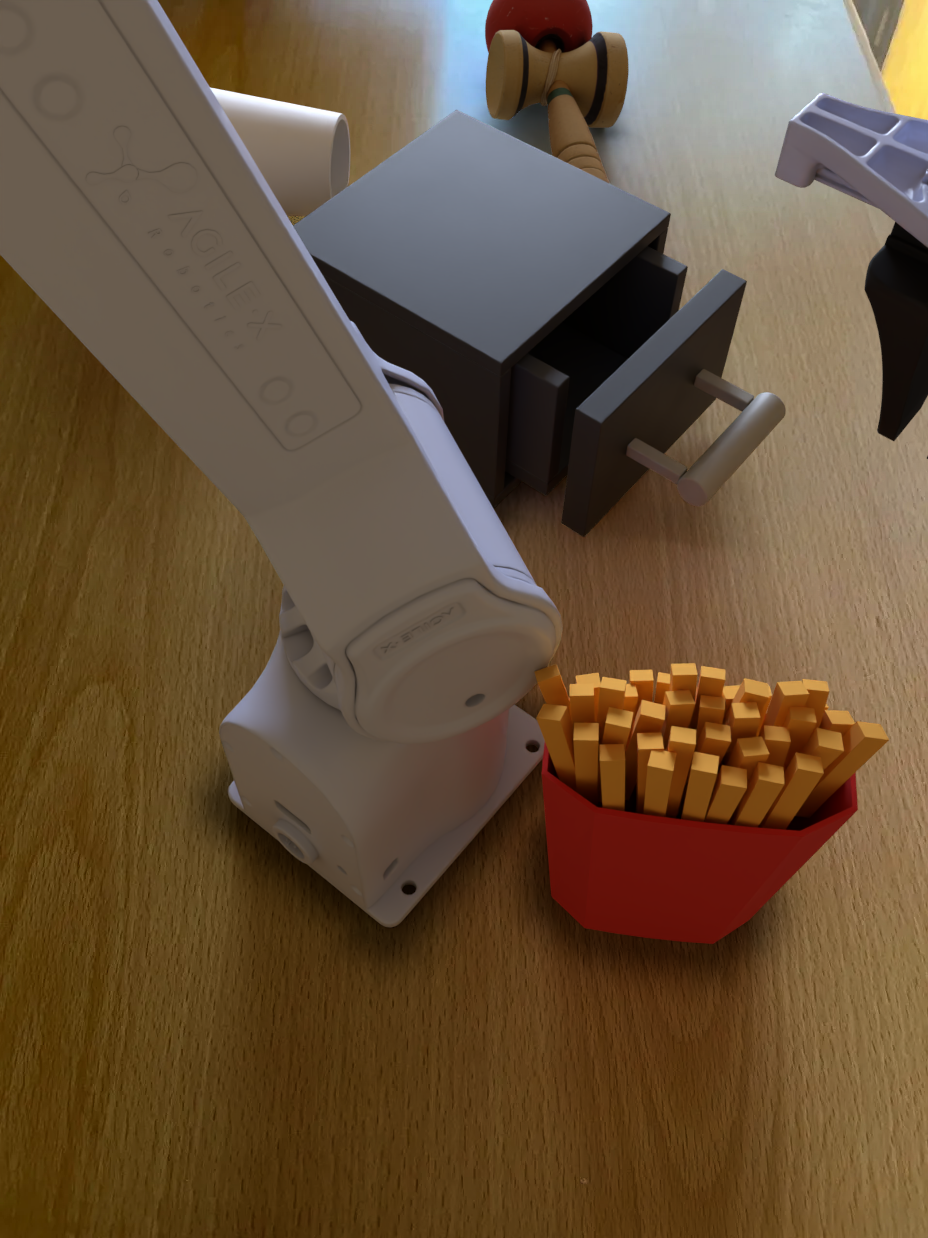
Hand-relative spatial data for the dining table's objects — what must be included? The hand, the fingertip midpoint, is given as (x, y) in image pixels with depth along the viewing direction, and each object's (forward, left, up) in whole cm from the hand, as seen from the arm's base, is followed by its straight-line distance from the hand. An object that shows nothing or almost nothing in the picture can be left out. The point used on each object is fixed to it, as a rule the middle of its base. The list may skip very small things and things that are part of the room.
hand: (923, 433), depth 40 cm
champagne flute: (-8, +52, -6) cm, 53 cm away
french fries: (-15, 0, -10) cm, 18 cm away
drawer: (0, +13, -9) cm, 15 cm away
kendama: (+17, +27, -10) cm, 33 cm away
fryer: (0, +20, -9) cm, 22 cm away
